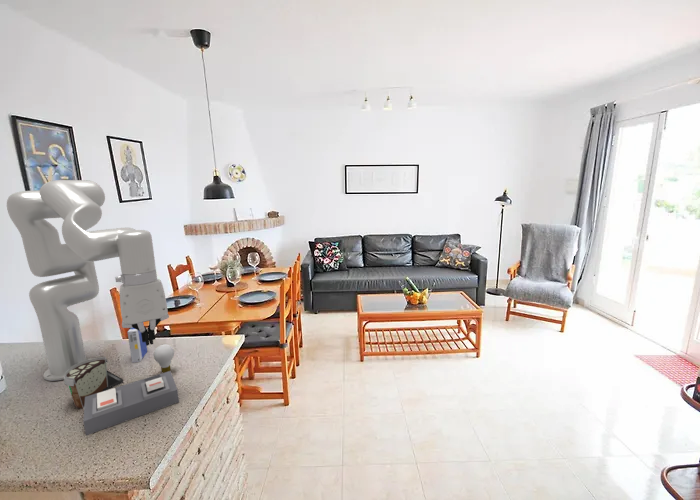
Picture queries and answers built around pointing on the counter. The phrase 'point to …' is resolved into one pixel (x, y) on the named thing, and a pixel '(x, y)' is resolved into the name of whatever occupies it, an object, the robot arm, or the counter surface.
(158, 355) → the light bulb
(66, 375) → the food container
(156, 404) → the rocker switch panel
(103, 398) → the rocker
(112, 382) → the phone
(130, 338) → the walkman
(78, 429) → the counter surface
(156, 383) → the rocker
